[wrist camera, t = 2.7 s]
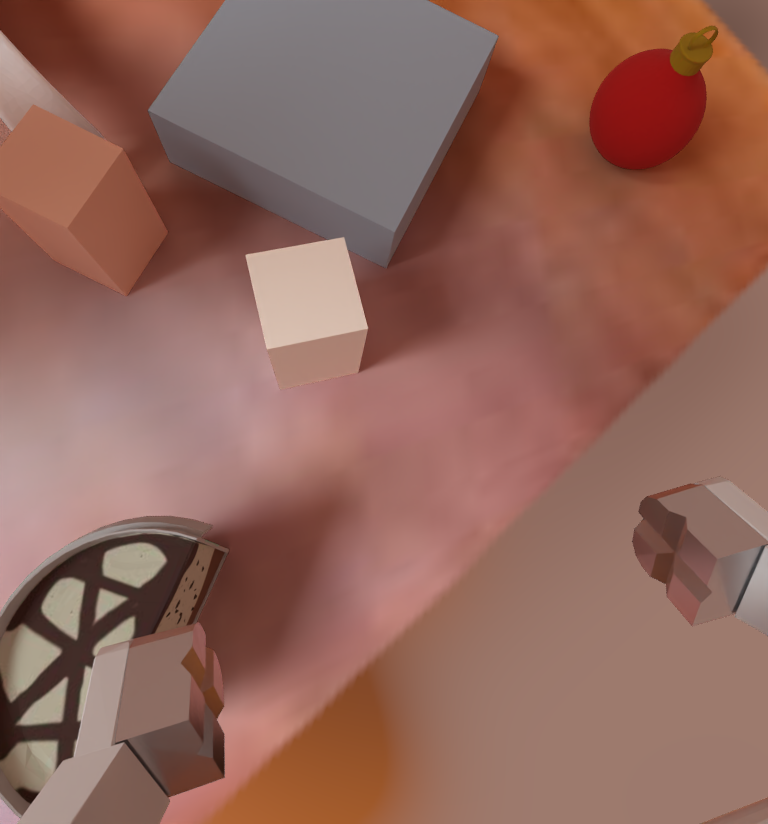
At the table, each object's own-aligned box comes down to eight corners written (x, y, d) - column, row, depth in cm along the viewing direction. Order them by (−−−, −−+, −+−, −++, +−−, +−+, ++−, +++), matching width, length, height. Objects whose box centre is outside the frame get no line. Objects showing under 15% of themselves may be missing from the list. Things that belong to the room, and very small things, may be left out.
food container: (142, 485, 31) (60, 467, 22) (240, 524, 32) (202, 525, 22) (33, 700, 29) (-117, 792, 19) (141, 743, 29) (47, 856, 19)
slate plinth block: (171, 165, 36) (147, 110, 31) (283, -1, 40) (277, -75, 35) (385, 271, 36) (394, 232, 31) (477, 95, 40) (498, 35, 35)
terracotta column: (54, 260, 34) (-28, 181, 26) (98, 198, 35) (33, 104, 27) (126, 296, 34) (67, 228, 26) (168, 232, 35) (123, 148, 27)
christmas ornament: (591, 198, 39) (680, 89, 29) (558, 114, 40) (634, -18, 30) (676, 180, 40) (790, 69, 30) (642, 98, 41) (741, -33, 31)
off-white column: (280, 390, 34) (266, 349, 26) (263, 315, 34) (245, 254, 27) (358, 372, 34) (368, 328, 26) (339, 300, 35) (344, 237, 27)
